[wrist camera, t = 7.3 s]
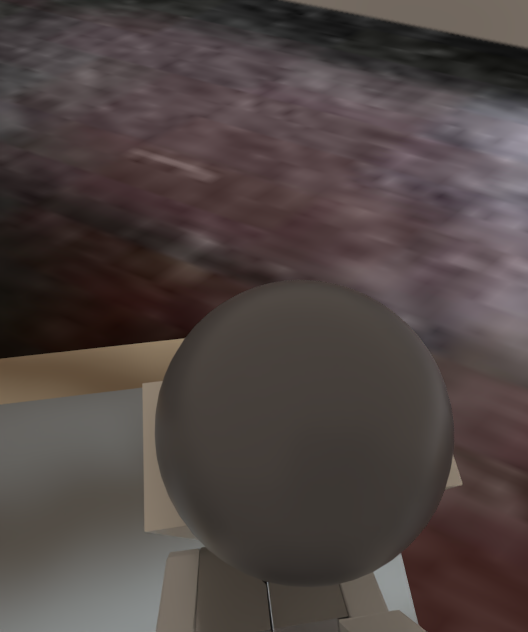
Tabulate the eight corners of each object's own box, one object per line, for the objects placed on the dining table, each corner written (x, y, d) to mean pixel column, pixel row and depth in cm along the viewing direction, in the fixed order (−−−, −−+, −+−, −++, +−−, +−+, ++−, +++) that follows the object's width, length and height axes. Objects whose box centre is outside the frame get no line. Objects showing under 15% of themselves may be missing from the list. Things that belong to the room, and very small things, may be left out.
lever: (321, 549, 13) (628, 558, 3) (217, 566, 13) (77, 655, 2) (305, 457, 14) (468, 202, 4) (210, 470, 14) (93, 235, 3)
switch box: (396, 769, 17) (485, 903, 10) (-391, 931, 14) (-886, 1232, 8) (308, 332, 25) (329, 260, 18) (-204, 389, 22) (-379, 329, 16)
